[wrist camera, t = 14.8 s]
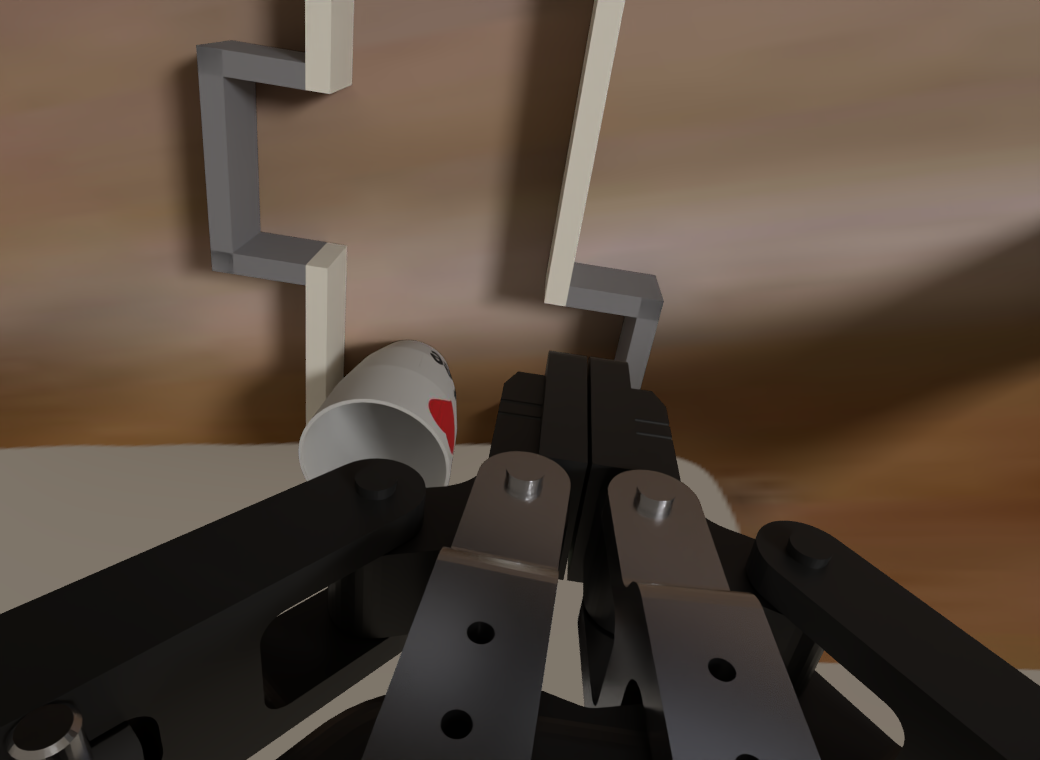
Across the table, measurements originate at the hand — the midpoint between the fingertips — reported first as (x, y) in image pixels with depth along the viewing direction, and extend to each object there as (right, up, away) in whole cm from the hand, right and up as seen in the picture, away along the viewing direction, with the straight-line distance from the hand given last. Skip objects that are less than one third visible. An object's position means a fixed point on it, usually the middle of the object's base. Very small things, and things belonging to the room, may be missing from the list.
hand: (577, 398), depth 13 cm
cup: (-8, +1, +33) cm, 34 cm away
